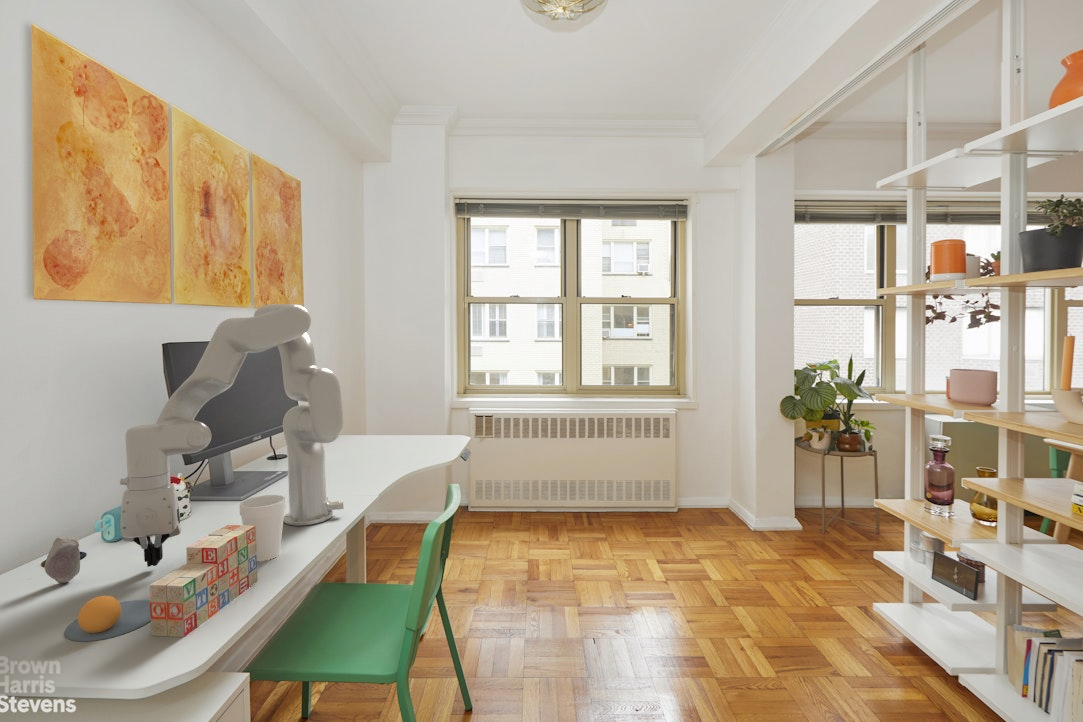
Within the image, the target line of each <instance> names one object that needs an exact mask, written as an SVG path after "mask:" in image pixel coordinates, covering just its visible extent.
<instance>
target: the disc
mask: <svg viewBox="0 0 1083 722" xmlns="http://www.w3.org/2000/svg"><path fill="white" fill-rule="evenodd" d="M150 602H151V601H150V599H136V600H135V599H134V600H126V601H122V602H119V603H120V605H121V614H120V617H119V619H118V621H117V622H116V623H115V624H114V625H113V626H112V627H111V628H109V629H107V630H105V631H103V632H99V633H89V632H86V631H84V630H83V629H82V628H81V627H80V626H79V624H78V618H76V619H75V620H73V621H72V622H71V623H70V624H69V625H68V626H67V627H66V628H65V631H64V635H65V637H66V639H68V640H71V641H73V642H74V641H75V642H83V643H84V642H95V641H101V640H107V639H111V638H115V637H118V636H122V635H125V634H127V633H130V632H133V631H135V630H137V629H140V628H142V627H143V626H146V625H147V624H149V623H151V618H150Z"/></svg>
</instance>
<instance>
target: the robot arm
mask: <svg viewBox="0 0 1083 722" xmlns="http://www.w3.org/2000/svg"><path fill="white" fill-rule="evenodd" d="M311 325H312V318H311V314H310V312H309V311H308V309H306V308H305V307H304V306H302V305H300V304H296V303H277V304H276V303H274V304H273V303H272V304H267V305H266V304H265V305H262V306H260V307H258V308H257V309H256V310H255V311H254V313H253V316H251V317H232V318H227V319H224V320H223V321H222V322H221V323H219V324H218V325H217V327H216V328H215V330H214V332H213V334H212V336H211V338H210V341H209V342H208V344H207V346H206V348H205V350H204V352H203V354H202V356H201V358H200V359H199V361H198V363H197V365H196V368H195V369H194V371H193V372H192V373H191V375H189V376H188V378H186V379H185V380H184V382H182V384H181V385H180V386H179V387H178V388H177V389H176V390H174V392H173V393H172V395H171V396H170V397H169V398H168V400H167V401H166V403H165V405H164V407H163V408H162V411H161V413H160V414H159V417H158V418H157V420H156V422H155V424H153V423H151V424H150V423H149V424H148V423H147V424H140V425H135V426H132V427H129V428H128V429H127V430H126V432H125V451H126V454H125V455H126V470H127V472H126V473H127V476H126V477H125V478H120V480H119V484H120V486H126V490H124V491H123V494H122V499H121V505H120V506H121V509H120V535H121V536H122V541H123V542H130V543H131V542H134V543H136V544H137V545H139V546H140V548H141V549H143V556H144V557H143V558H144V559H143V560H144V562H146V565H147V566H146V567H152V566H153V567H154V566H155V567H156V566H158V564H159V563H160V562H161V561H162V559H163V557H164V556H163V554H164V553H163V544H164V543H165V542H166V540H168V539H169V538H173V537H177V536H178V535H180V534H181V532H182V528H181V525H180V524H181V512H180V504H179V499H178V495H177V494H178V493H177V492H176V491H177V489H176V487H175V485H174V484H173V483H171V469H170V467H171V466H170V456H172V455H173V456H174V455H190V454H196V453H199V452H201V451H203V450H205V449H206V448H208V446H209V444H210V443H211V440H212V432H211V429H210V427H209V426H207V425H206V424H205V423H204V422H201V421H199V420H195V418H196V417H197V415H198V413H199V412H200V410H201V409H202V408H203V406H204V405H206V404H207V403H208V402H209V401H210V400H211V399H213V398H214V397H216V396H218V395H220V394H222V393H224V392H225V391H227V390H228V389H230V388H232V386H233V385H234V383H235V380H236V379H237V376H238V374H239V372H240V370H241V368H242V366H243V364H244V362H245V360H246V358H247V356H248V353H249V354H251V353H252V354H257V353H261V352H265V351H268V350H271V349H274V348H276V347H277V349H278V352H279V354H280V355H279V356H280V360H281V370H282V378H283V387H284V392H285V394H286V396H287V397H288V398H289V399H291V400H292V401H293V400H294V401H297V402H304V403H305V402H306V403H308V404H300V405H295V406H293V407H291V408H290V409H288V411H286V413H285V414H284V416H283V419H282V431H283V436H284V441H285V443H286V444H285V446H286V452H287V473H288V474H287V475H288V476H287V477H288V499H289V500H288V501H289V503H288V504H289V511H288V512H287V513H286V514H284V518H283V523H285V524H286V525H290V526H298V527H299V526H308V525H309V526H311V525H315V524H319V523H323V522H325V521H327V520H329V519H331V518H332V517H333V515H334V514H333V511H334V510H339V511H340V510H344V501H343V502H340V501H339V500H337V501H331V500H330V501H329V498H328V497H327V483H326V482H327V481H326V479H327V478H326V452H325V447H324V444H330V443H332V442H335V441H336V440H337V439H338V438H339V437H340V435H341V433H342V431H343V428H344V414H343V402H342V392H341V390H342V389H341V385H340V381H339V379H338V377H337V375H336V374H335V373H334V372H333V371H332V370H330V369H329V368H326V367H321V366H317V361H316V354H315V347H314V345H313V341H312V339H311V337H310V335H309V334H308V330H309V329H310V327H311ZM152 536H154V542H153V540H152Z"/></svg>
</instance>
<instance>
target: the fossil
mask: <svg viewBox="0 0 1083 722" xmlns="http://www.w3.org/2000/svg"><path fill="white" fill-rule="evenodd" d="M44 563H45V564H44V572H45V573H46V575H47V576H49V577H50V578H51V579H52V580H55V582H57V583H59V584H67V583H69V582H71V581H72V580H73V579H74V578H75V577H76V576H77V575H79V573H80V571H81V570H80V569H81V550H80V542H79V540H78V539H76V538H70V537H62V536H61V537H60V536H57V538H55V540H54V541H53V543H52V546H51V547H50V550H49V552H48V554H47V556H46V560H45V562H44ZM66 582H67V583H66Z"/></svg>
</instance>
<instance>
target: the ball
mask: <svg viewBox="0 0 1083 722" xmlns="http://www.w3.org/2000/svg"><path fill="white" fill-rule="evenodd" d="M120 603H121V602H119V600H118V599H117V598H116V597H113V596H112V595H100V596H96V597H94V598H91V599H90V600H88V601H87V602H85V603H84V605H83V606H82V607H81V608H80V610H79V612H78V615H77V619H78V624H79V626H80V627H81V628H82V629H83V630H84V631H86V632H89V633H99V632H103V631H105V630H107V629H109V628H111V627H112V626H113V625H114V624H115V623H116V622H117V621H118V619H119V617H120V614H121V605H120Z"/></svg>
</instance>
